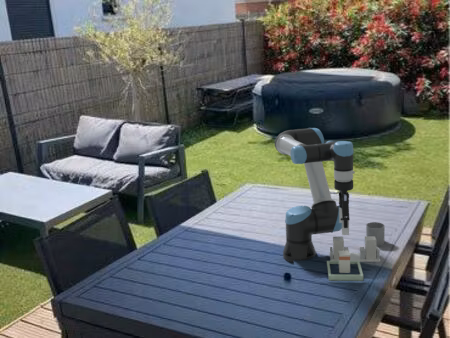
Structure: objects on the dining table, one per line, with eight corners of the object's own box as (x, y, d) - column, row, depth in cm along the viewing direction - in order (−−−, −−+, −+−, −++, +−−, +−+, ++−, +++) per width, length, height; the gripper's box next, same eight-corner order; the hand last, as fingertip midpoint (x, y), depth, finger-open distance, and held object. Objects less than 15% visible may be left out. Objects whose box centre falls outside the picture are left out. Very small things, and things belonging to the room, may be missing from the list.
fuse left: (333, 259, 222) (333, 240, 220) (333, 255, 226) (332, 236, 224) (343, 259, 221) (343, 240, 219) (343, 255, 225) (342, 236, 223)
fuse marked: (339, 274, 209) (339, 255, 207) (338, 269, 213) (338, 250, 211) (350, 274, 208) (350, 255, 206) (349, 269, 213) (349, 250, 210)
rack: (330, 264, 220) (330, 253, 219) (329, 255, 229) (329, 244, 227) (380, 264, 217) (380, 253, 215) (377, 255, 225) (377, 244, 224)
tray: (328, 280, 206) (328, 275, 205) (326, 266, 219) (326, 260, 218) (363, 281, 203) (363, 275, 203) (359, 266, 217) (359, 260, 216)
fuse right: (366, 259, 220) (366, 240, 217) (364, 254, 224) (364, 236, 222) (376, 259, 219) (376, 240, 217) (374, 254, 223) (374, 236, 221)
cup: (364, 247, 236) (364, 227, 233) (368, 240, 243) (368, 221, 240) (382, 249, 232) (382, 229, 229) (385, 242, 239) (386, 223, 236)
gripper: (356, 188, 188) (356, 240, 194) (350, 171, 212) (350, 217, 218) (336, 188, 190) (337, 240, 195) (332, 171, 213) (332, 217, 219)
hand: (344, 228), depth 206 cm, fingers open, 13 cm apart
